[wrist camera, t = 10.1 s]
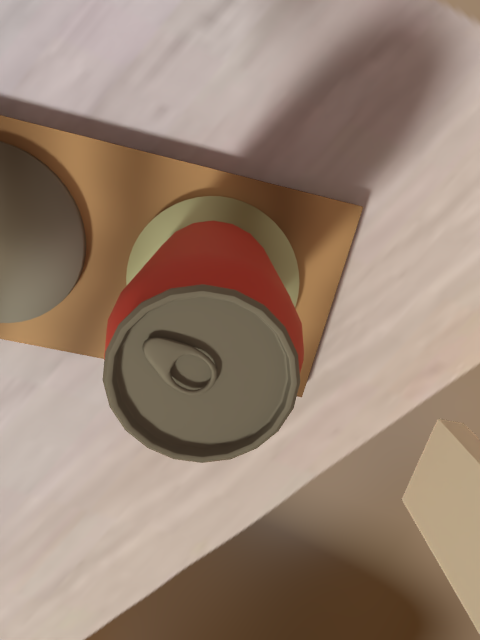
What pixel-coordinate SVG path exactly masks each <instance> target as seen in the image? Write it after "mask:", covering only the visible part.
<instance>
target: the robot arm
mask: <svg viewBox="0 0 480 640" xmlns="http://www.w3.org/2000/svg"><path fill="white" fill-rule="evenodd" d="M402 501H403V503H404V504H405V506H406V508H407V510H408V511H409V513H410V515H411V516H412V518H413V520H414V522H415V523H416V525H417V527H418V529H419V530H420V532H421V534H422V535H423V537H424V539H425V541H426V542H427V544H428V546H429V548H430V549H431V551H432V553H433V555H434V556H435V558H436V560H437V562H438V563H439V565H440V567H441V568H442V570H443V572H444V574H445V575H446V577H447V579H448V581H449V582H450V584H451V586H452V588H453V589H454V591H455V593H456V594H457V596H458V598H459V600H460V601H461V603H462V605H463V606H464V608H465V610H466V612H467V614H468V615H469V617H470V619H471V620H472V622H473V624H474V626H475V627H476V629H477V631H478V632H479V634H480V439H479V438H478V437H477V436H476V435H475V434H474V433H473V432H472V431H471V430H470V429H469V428H468V427H467V426H466V425H465V424H464V423H460V422H454V421H449V420H444V419H437V422H436V424H435V426H434V428H433V430H432V433H431V435H430V437H429V439H428V442H427V444H426V446H425V448H424V451H423V453H422V455H421V457H420V459H419V462H418V464H417V466H416V468H415V471H414V473H413V475H412V477H411V480H410V482H409V484H408V486H407V489H406V491H405V493H404V495H403V497H402Z"/></svg>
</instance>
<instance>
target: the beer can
mask: <svg viewBox="0 0 480 640" xmlns="http://www.w3.org/2000/svg"><path fill="white" fill-rule="evenodd" d="M104 360H105V361H104V372H103V383H104V387H105V390H106V394H107V398H108V402H109V405H110V408H111V409H112V411H113V412H114V414H115V415H116V417H117V418H118V420H119V421H120V423H121V424H122V426H123V427H124V429H125V430H126V431H127V432H128V433H130V434H131V435H132V436H133V437H135V438H136V439H137V440H138V441H140V442H141V443H142V444H143V445H145V446H146V447H147V448H149V449H151V450H154V451H156V452H159V453H161V454H163V455H166V456H168V457H170V458H173V459H178V460H186V461H193V462H201V463H204V462H212V461H220V460H228V459H232V458H235V457H237V456H239V455H242V454H244V453H247V452H249V451H251V450H254V449H256V448H258V447H259V446H260V445H261V444H263V443H264V442H265V441H266V440H268V439H269V438H270V437H271V436H273V435H274V434H275V433H276V432H278V431H279V429H280V428H281V426H282V425H283V423H284V422H285V420H286V419H287V417H288V416H289V414H290V413H291V411H292V410H293V408H294V404H295V400H296V397H297V393H298V389H299V385H300V372H301V368H302V364H303V360H304V344H303V332H302V323H301V320H300V318H299V316H298V314H297V311H296V309H295V307H294V305H293V302H292V300H291V298H290V296H289V294H288V292H287V290H286V288H285V287H284V285H283V283H282V281H281V279H280V277H279V275H278V274H277V272H276V270H275V268H274V266H273V264H272V263H271V261H270V259H269V257H268V255H267V253H266V252H265V250H264V248H263V247H262V246H261V245H260V244H259V243H258V242H257V240H256V239H255V238H254V237H253V236H252V235H251V234H250V233H248V232H246V231H244V230H243V229H241V228H239V227H237V226H235V225H234V224H229V223H224V222H219V221H214V220H213V221H205V222H197V223H192V224H190V225H188V226H186V227H184V228H182V229H180V230H178V231H176V232H175V233H174V234H173V235H172V236H171V237H170V238H169V239H168V240H167V241H166V242H165V243H164V244H163V245H162V246H161V247H160V248H159V249H158V250H157V252H156V253H155V254H154V255H153V256H152V257H151V258H150V260H149V261H148V262H147V263H146V264H145V265H144V266H143V268H142V269H141V270H140V271H139V272H138V273H137V274H136V276H135V277H134V278H133V279H132V280H131V281H130V283H129V284H128V285H127V286H126V287H125V288H124V289H123V291H122V292H121V293H120V295H119V297H118V300H117V302H116V304H115V306H114V308H113V310H112V312H111V314H110V316H109V318H108V323H107V331H106V342H105V353H104Z"/></svg>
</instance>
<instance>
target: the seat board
mask: <svg viewBox="0 0 480 640" xmlns="http://www.w3.org/2000/svg"><path fill="white" fill-rule="evenodd" d="M362 209H363V207H362V206H358V205H354V204H350V203H346V202H342V201H338V200H334V199H330V198H326V197H322V196H318V195H314V194H310V193H306V192H303V191H299V190H295V189H291V188H287V187H283V186H279V185H275V184H271V183H267V182H263V181H259V180H255V179H251V178H247V177H243V176H239V175H235V174H231V173H227V172H223V171H219V170H215V169H211V168H207V167H204V166H200V165H196V164H192V163H188V162H184V161H180V160H176V159H172V158H168V157H164V156H160V155H156V154H152V153H148V152H144V151H140V150H136V149H132V148H128V147H124V146H120V145H116V144H112V143H108V142H105V141H101V140H97V139H93V138H89V137H85V136H81V135H77V134H73V133H69V132H65V131H61V130H57V129H53V128H49V127H45V126H41V125H37V124H33V123H29V122H25V121H21V120H17V119H13V118H9V117H6V116H2V115H0V339H5V340H10V341H15V342H20V343H25V344H30V345H36V346H41V347H46V348H51V349H56V350H61V351H66V352H72V353H77V354H82V355H87V356H92V357H97V358H102V359H104V353H105V342H106V331H107V323H108V318H109V316H110V314H111V312H112V310H113V308H114V306H115V304H116V302H117V300H118V297H119V295H120V293H121V292H122V291H123V289H124V288H125V287H126V286H127V285H128V284H129V283H130V281H131V280H132V279H133V278H134V277H135V276H136V274H137V273H138V272H139V271H140V270H141V269H142V268H143V266H144V265H145V264H146V263H147V262H148V261H149V260H150V258H151V257H152V256H153V255H154V254H155V253H156V252H157V250H158V249H159V248H160V247H161V246H162V245H163V244H164V243H165V242H166V241H167V240H168V239H169V238H170V237H171V236H172V235H173V234H174V233H175V232H176V231H178V230H180V229H182V228H184V227H186V226H188V225H190V224H192V223H197V222H205V221H213V220H214V221H219V222H224V223H229V224H234V225H235V226H237V227H239V228H241V229H243V230H244V231H246V232H248V233H250V234H251V235H252V236H253V237H254V238H255V239H256V240H257V242H258V243H259V244H260V245H261V246H262V247H263V248H264V250H265V252H266V253H267V255H268V257H269V259H270V261H271V263H272V264H273V266H274V268H275V270H276V272H277V274H278V275H279V277H280V279H281V281H282V283H283V285H284V287H285V288H286V290H287V292H288V294H289V296H290V298H291V300H292V302H293V305H294V307H295V309H296V311H297V314H298V316H299V318H300V320H301V323H302V332H303V344H304V360H303V364H302V368H301V372H300V385H299V389H298V393H297V396H298V397H302V395H303V392H304V389H305V386H306V383H307V380H308V376H309V373H310V370H311V367H312V364H313V361H314V358H315V355H316V352H317V349H318V345H319V342H320V339H321V336H322V333H323V330H324V327H325V324H326V321H327V318H328V314H329V311H330V308H331V305H332V302H333V299H334V296H335V293H336V290H337V287H338V284H339V280H340V277H341V274H342V271H343V268H344V265H345V262H346V259H347V256H348V253H349V249H350V246H351V243H352V240H353V237H354V234H355V231H356V228H357V225H358V222H359V219H360V215H361V212H362Z"/></svg>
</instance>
